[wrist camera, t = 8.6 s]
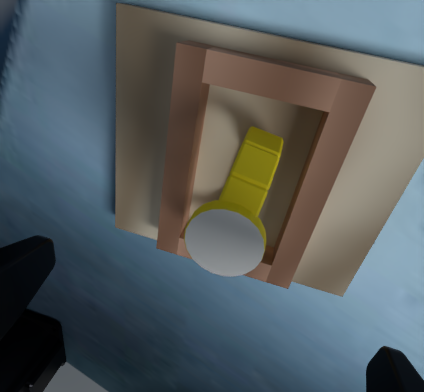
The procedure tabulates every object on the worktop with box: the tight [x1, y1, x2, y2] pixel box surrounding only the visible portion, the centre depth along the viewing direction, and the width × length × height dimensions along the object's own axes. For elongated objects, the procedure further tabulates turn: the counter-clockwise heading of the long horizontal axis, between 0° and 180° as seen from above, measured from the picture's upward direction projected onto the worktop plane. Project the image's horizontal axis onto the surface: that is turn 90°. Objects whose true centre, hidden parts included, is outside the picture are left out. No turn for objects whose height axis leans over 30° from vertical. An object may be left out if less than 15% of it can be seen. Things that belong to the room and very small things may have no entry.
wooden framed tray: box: [115, 3, 424, 297], centre depth 15 cm, size 14×12×2 cm
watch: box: [184, 126, 283, 276], centre depth 13 cm, size 6×3×6 cm, turn 162°
